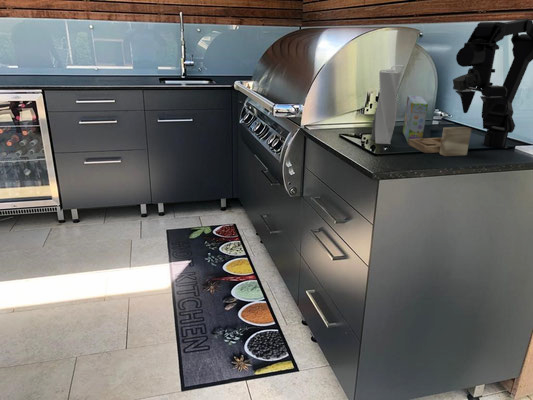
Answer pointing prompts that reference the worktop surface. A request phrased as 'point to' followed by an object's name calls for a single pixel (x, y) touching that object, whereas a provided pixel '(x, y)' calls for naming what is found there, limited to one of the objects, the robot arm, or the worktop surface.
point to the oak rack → (423, 147)
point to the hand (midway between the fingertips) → (474, 115)
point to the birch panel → (455, 141)
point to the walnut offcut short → (426, 143)
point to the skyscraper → (386, 106)
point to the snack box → (415, 117)
